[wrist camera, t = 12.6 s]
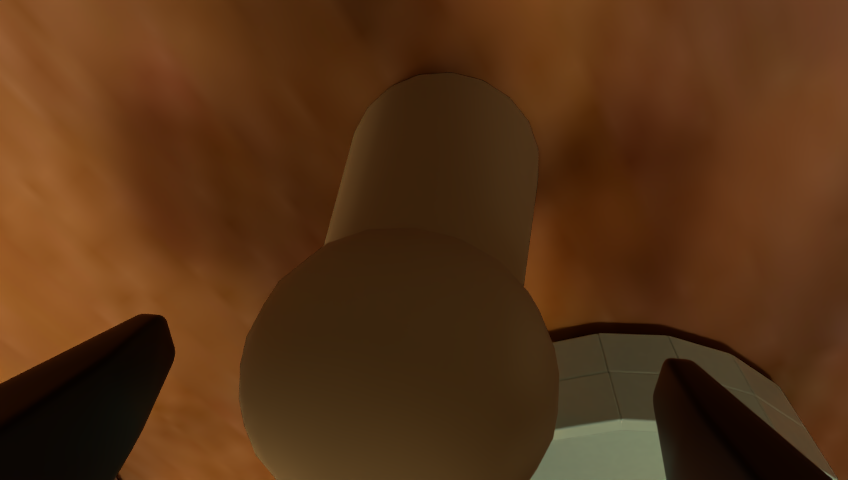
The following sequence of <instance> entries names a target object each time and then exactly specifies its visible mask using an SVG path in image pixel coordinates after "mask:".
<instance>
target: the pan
mask: <svg viewBox="0 0 848 480" xmlns="http://www.w3.org/2000/svg"><path fill="white" fill-rule="evenodd" d="M552 343H553V345H554V348H555V353H556V358H557V364H558V370H559V397H558V414H557V420H556V425H555V431H554V437H553V440H552V442H551V444H550V445H549V447H548V449H547V451H546V453H545V455H544V457H543V459H542V461H541V463H540V464H539V466H538V468H537V470H536V471H535V473H534V474H533V476H532V477H531V479H530V480H666V475H665V469H664V464H663V458H662V452H661V447H660V441H659V436H658V430H657V424H656V419H655V413H654V407H653V393H654V389H655V386H656V383H657V380H658V377H659V374H660V371H661V368H662V365H663V363H664V361H665V360H666V359H668V358H678V359H689V360H692V361H694V362H695V363H696V364H698V365H699V366H700V367H701V368H702V369H703V370H705V371H706V372H707V373H708V374H709V375H711V376H712V377H713V378H714V379H715V380H716V381H718V382H719V383H720V384H721V385H722V386H724V387H725V388H726V389H727V390H728V391H729V392H731V393H732V394H733V395H734V396H735V397H736V398H738V399H739V400H740V401H741V402H742V403H744V404H745V405H746V406H747V407H748V408H749V409H751V410H752V411H753V412H754V413H755V414H756V415H758V416H759V417H760V418H761V419H762V420H764V421H765V422H766V423H767V424H768V425H769V426H771V427H772V428H773V429H774V430H775V431H776V432H778V433H779V434H780V435H781V436H782V437H784V438H785V439H786V440H787V441H788V442H789V443H791V444H792V445H793V446H794V447H795V448H797V449H798V450H799V451H800V452H801V453H802V454H804V455H805V456H806V457H807V458H808V459H809V460H811V461H812V462H813V463H814V464H815V465H817V466H818V467H819V468H820V469H821V470H822V471H824V472H825V473H826V474H827V475H828V476H829V477H831V478H832V479H833V480H838V478H837V476H836V475H835V473H834V472H833V470H832V469H831V467H830V465H829V464H828V462H827V461H826V459H825V458H824V456H823V454H822V453H821V451H820V450H819V448H818V447H817V445H816V443H815V442H814V440H813V439H812V437H811V436H810V434H809V432H808V431H807V429H806V428H805V426H804V425H803V423H802V422H801V420H800V418H799V417H798V415H797V414H796V412H795V411H794V409H793V407H792V406H791V404H790V403H789V401H788V400H787V398H786V396H785V395H784V393H783V392H782V390H781V389H780V387H779V386H778V385H777V384H775V383H774V382H772V381H771V380H769V379H768V378H766V377H765V376H763V375H762V374H760V373H759V372H757V371H756V370H754V369H753V368H751V367H750V366H748V365H747V364H745V363H744V362H742V361H741V360H739V359H738V358H736V357H735V356H733V355H731V354H730V353H726V352H723V351H720V350H716V349H713V348H709V347H706V346H703V345H699V344H696V343H692V342H689V341H686V340H682V339H679V338H675V337H672V336H666V335H642V334H614V333H599V334H592V335H587V336H582V337H577V338H572V339H567V340H562V341H557V342H552Z"/></svg>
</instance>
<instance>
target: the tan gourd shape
mask: <svg viewBox="0 0 848 480" xmlns="http://www.w3.org/2000/svg"><path fill="white" fill-rule="evenodd" d="M537 183H538V147H537V144H536V141H535V138H534V135H533V132H532V130H531V127H530V124H529V121H528V120H527V119H526V118H525V116H524V115H523V114H522V113H521V111H520V110H519V109H518V107H517V106H516V105H515V104H514V102H513V101H512V100H511V99H510V97H508V96H506V95H505V94H503V93H502V92H500V91H499V90H497V89H495V88H494V87H492V86H491V85H489V84H488V83H486V82H484V81H483V80H480V79H476V78H472V77H468V76H464V75H460V74H456V73H452V72H448V73H436V74H423V75H417V76H415V77H412V78H410V79H408V80H406V81H403V82H401V83H399V84H396V85H394V86H392V87H390V88H388V89H387V90H386V91H385V92H384V93H383V94H382V95H381V96H380V97H379V98H378V99H376V100H375V101H374V102H373V103H372V104H371V105H370V106H369V107H368V108H367V110H366V112H365V114H364V115H363V117H362V119H361V121H360V123H359V125H358V127H357V129H356V130H355V132H354V136H353V139H352V143H351V147H350V150H349V154H348V158H347V162H346V165H345V169H344V173H343V176H342V180H341V184H340V188H339V191H338V195H337V199H336V202H335V206H334V210H333V213H332V217H331V221H330V225H329V228H328V232H327V236H326V239H325V243H324V246H323V247H322V248H320V249H319V250H318V251H316V252H315V253H314V254H312V255H311V256H310V257H309V258H307V259H306V260H305V261H304V262H302V263H301V264H300V265H299V266H297V267H296V268H295V269H294V270H292V271H291V272H290V273H289V274H287V275H286V276H285V277H284V278H282V279H281V280H280V281H279V282H278V283H277V285H276V286H275V288H274V289H273V291H272V292H271V294H270V296H269V297H268V299H267V300H266V302H265V303H264V305H263V307H262V309H261V311H260V313H259V314H258V316H257V318H256V320H255V322H254V324H253V326H252V328H251V329H250V331H249V333H248V335H247V337H246V341H245V346H244V350H243V355H242V359H241V363H240V384H239V402H240V407H241V412H242V417H243V422H244V426H245V429H246V431H247V434H248V436H249V439H250V441H251V444H252V446H253V449H254V452H255V454H256V456H257V457H258V458H259V459H260V461H261V462H262V463H263V464H264V465H265V466H266V468H267V469H268V470H269V471H270V472H271V474H272V475H273V476H274V477H275V478H276V480H530V479H531V477H532V476H533V474H534V473H535V471H536V470H537V468H538V466H539V464H540V463H541V461H542V459H543V457H544V455H545V453H546V451H547V449H548V447H549V445H550V444H551V442H552V440H553V437H554V431H555V425H556V420H557V414H558V397H559V370H558V364H557V358H556V353H555V348H554V345H553V343H552V340H551V338H550V336H549V333H548V331H547V328H546V326H545V323H544V321H543V318H542V316H541V313H540V311H539V309H538V307H537V306H536V304H535V302H534V301H533V299H532V297H531V296H530V294H529V292H528V291H527V290H526V289H525V288H524V280H525V273H526V265H527V258H528V250H529V243H530V236H531V228H532V221H533V213H534V206H535V198H536V191H537Z"/></svg>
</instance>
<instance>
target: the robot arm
mask: <svg viewBox="0 0 848 480" xmlns="http://www.w3.org/2000/svg"><path fill="white" fill-rule="evenodd" d="M174 357H175V347H174V344H173V341H172V337H171V334H170V330H169V327H168V324H167V321H166V319H165V318H164V317H163V316H161V315H153V314H139V315H137V316H135V317H133V318H131V319H129V320H127V321H125V322H123V323H121V324H119V325H117V326H115V327H113V328H111V329H109V330H107V331H105V332H103V333H101V334H99V335H97V336H95V337H93V338H91V339H89V340H87V341H85V342H83V343H81V344H79V345H77V346H75V347H73V348H71V349H69V350H67V351H65V352H63V353H61V354H59V355H57V356H55V357H53V358H51V359H49V360H47V361H45V362H43V363H41V364H39V365H37V366H35V367H33V368H31V369H29V370H27V371H25V372H23V373H21V374H19V375H17V376H15V377H13V378H11V379H9V380H7V381H5V382H3V383H1V384H0V480H115V478H116V476H117V474H118V473H119V471H120V469H121V468H122V466H123V464H124V462H125V461H126V459H127V457H128V455H129V454H130V452H131V450H132V448H133V447H134V445H135V443H136V441H137V439H138V438H139V436H140V434H141V432H142V430H143V428H144V426H145V424H146V421H147V419H148V417H149V415H150V413H151V410H152V408H153V406H154V404H155V401H156V399H157V397H158V395H159V393H160V390H161V388H162V386H163V384H164V381H165V379H166V377H167V375H168V372H169V370H170V368H171V366H172V364H173V361H174ZM653 407H654V413H655V419H656V424H657V430H658V436H659V441H660V447H661V452H662V458H663V464H664V469H665V475H666V480H833V479H832V478H831V477H829V476H828V475H827V474H826V473H825V472H824V471H822V470H821V469H820V468H819V467H818V466H817V465H815V464H814V463H813V462H812V461H811V460H809V459H808V458H807V457H806V456H805V455H804V454H802V453H801V452H800V451H799V450H798V449H797V448H795V447H794V446H793V445H792V444H791V443H789V442H788V441H787V440H786V439H785V438H784V437H782V436H781V435H780V434H779V433H778V432H776V431H775V430H774V429H773V428H772V427H771V426H769V425H768V424H767V423H766V422H765V421H764V420H762V419H761V418H760V417H759V416H758V415H756V414H755V413H754V412H753V411H752V410H751V409H749V408H748V407H747V406H746V405H745V404H744V403H742V402H741V401H740V400H739V399H738V398H736V397H735V396H734V395H733V394H732V393H731V392H729V391H728V390H727V389H726V388H725V387H724V386H722V385H721V384H720V383H719V382H718V381H716V380H715V379H714V378H713V377H712V376H711V375H709V374H708V373H707V372H706V371H705V370H703V369H702V368H701V367H700V366H699V365H698V364H696V363H695V362H694V361H692V360H689V359H678V358H668V359H666V360H665V361H664V363H663V365H662V368H661V371H660V374H659V377H658V380H657V383H656V386H655V389H654V393H653Z"/></svg>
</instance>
